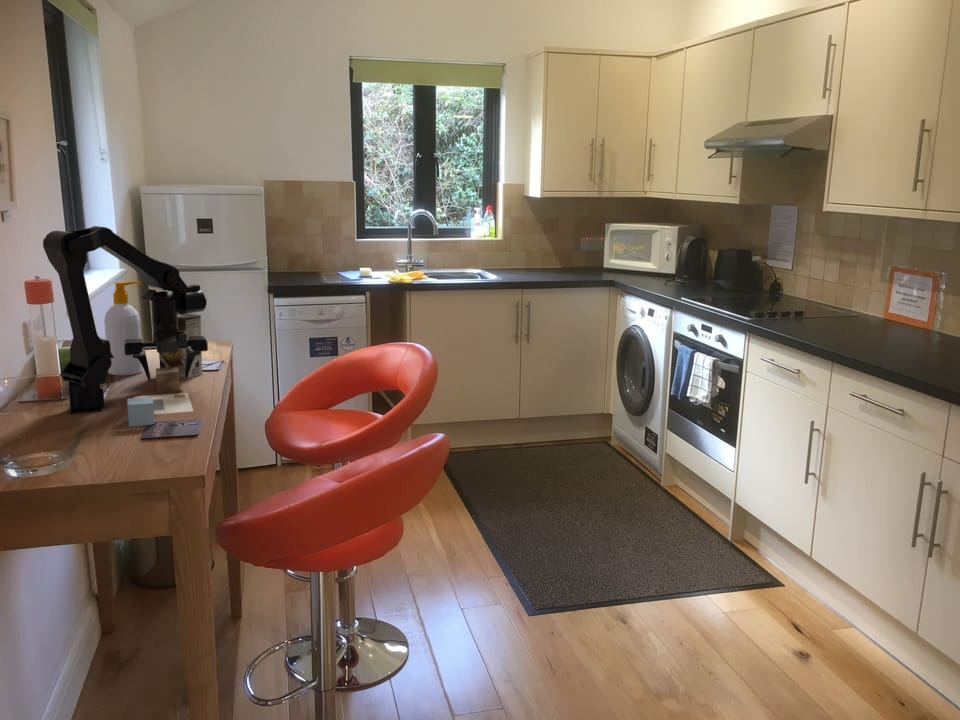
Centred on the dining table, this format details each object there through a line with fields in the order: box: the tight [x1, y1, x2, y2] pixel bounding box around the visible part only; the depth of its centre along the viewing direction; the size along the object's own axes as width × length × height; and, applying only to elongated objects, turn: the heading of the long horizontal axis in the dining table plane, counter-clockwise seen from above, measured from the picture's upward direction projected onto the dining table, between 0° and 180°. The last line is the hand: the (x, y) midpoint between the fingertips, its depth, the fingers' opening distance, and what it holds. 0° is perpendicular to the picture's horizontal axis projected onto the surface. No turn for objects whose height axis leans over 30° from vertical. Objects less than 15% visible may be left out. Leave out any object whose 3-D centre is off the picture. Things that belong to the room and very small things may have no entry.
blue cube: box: [126, 397, 155, 427], centre depth 175 cm, size 5×5×5 cm
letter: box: [133, 392, 194, 415], centre depth 189 cm, size 12×16×1 cm
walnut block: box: [155, 367, 181, 393], centre depth 201 cm, size 5×5×5 cm
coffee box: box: [158, 312, 203, 379], centre depth 213 cm, size 9×6×16 cm
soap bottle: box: [103, 280, 144, 377], centre depth 214 cm, size 9×9×24 cm
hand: (168, 379), depth 201 cm, fingers open, 8 cm apart
